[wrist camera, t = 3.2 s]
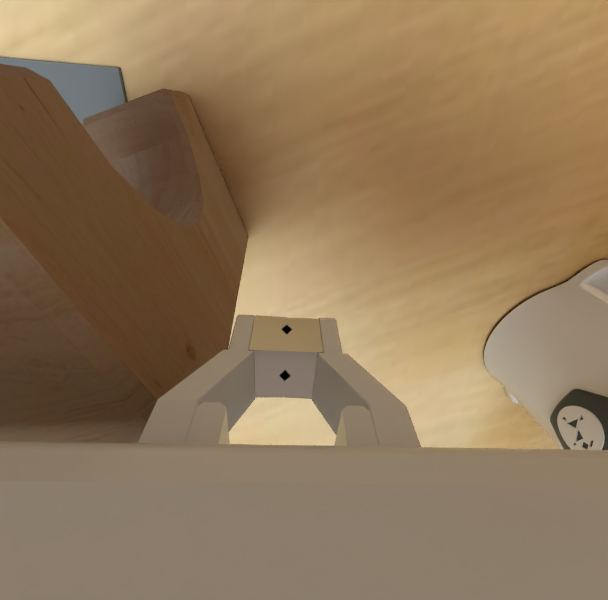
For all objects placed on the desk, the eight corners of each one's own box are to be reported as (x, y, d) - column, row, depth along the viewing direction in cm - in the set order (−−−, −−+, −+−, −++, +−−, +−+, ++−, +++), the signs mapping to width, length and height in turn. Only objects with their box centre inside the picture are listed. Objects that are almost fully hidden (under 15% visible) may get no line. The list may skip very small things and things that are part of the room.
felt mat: (120, 67, 20) (117, 67, 20) (160, 263, 27) (158, 265, 27) (-221, 38, 19) (-228, 37, 18) (-80, 251, 26) (-84, 252, 26)
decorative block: (112, 116, 21) (-549, 160, 4) (190, 89, 21) (-184, 14, 4) (188, 259, 27) (46, 518, 10) (250, 240, 26) (212, 477, 10)
